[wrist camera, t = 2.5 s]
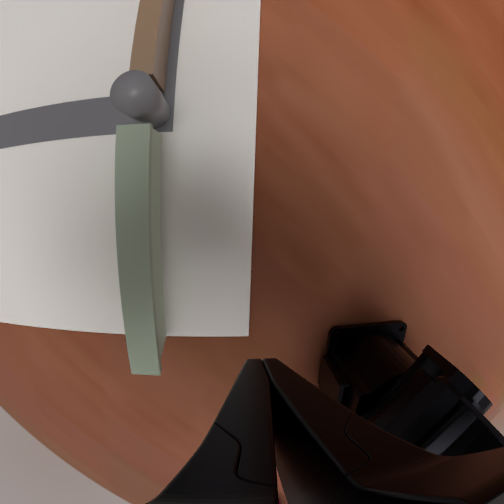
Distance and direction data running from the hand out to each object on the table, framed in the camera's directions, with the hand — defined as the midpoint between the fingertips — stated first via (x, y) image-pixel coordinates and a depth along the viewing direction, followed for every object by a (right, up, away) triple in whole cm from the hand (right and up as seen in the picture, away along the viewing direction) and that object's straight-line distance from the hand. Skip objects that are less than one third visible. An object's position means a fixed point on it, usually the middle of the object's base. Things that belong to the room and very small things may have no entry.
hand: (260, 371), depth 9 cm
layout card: (-11, +11, +8) cm, 17 cm away
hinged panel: (-6, +4, +10) cm, 12 cm away
